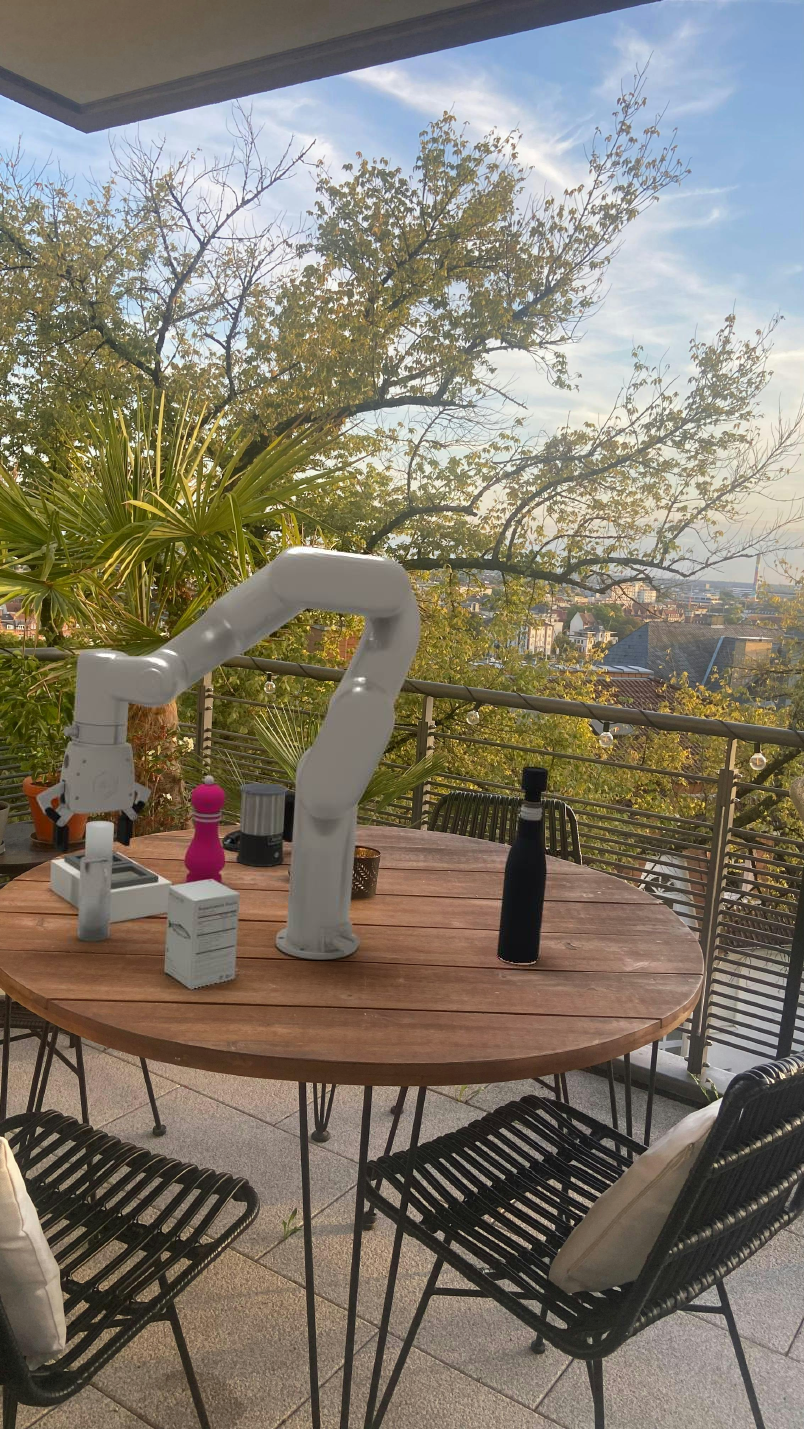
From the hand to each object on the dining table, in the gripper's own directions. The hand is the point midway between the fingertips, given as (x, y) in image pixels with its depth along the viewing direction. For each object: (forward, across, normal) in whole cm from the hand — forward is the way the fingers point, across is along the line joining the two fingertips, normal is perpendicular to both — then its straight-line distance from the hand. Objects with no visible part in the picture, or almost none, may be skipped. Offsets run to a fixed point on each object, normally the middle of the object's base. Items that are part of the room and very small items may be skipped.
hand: (92, 847), depth 145 cm
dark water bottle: (+12, +52, -41) cm, 67 cm away
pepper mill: (+14, +28, +13) cm, 34 cm away
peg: (+14, +1, -1) cm, 14 cm away
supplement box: (+14, +7, -22) cm, 26 cm away
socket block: (+14, +10, +13) cm, 22 cm away
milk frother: (+14, +46, +26) cm, 54 cm away
